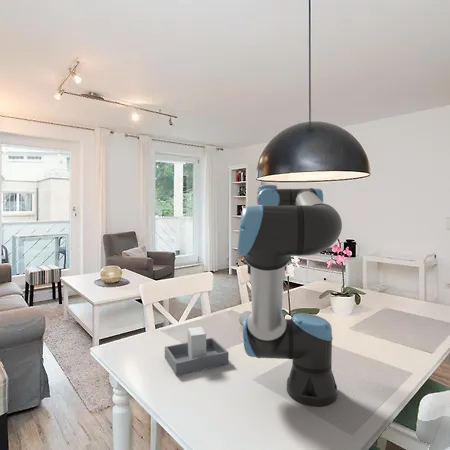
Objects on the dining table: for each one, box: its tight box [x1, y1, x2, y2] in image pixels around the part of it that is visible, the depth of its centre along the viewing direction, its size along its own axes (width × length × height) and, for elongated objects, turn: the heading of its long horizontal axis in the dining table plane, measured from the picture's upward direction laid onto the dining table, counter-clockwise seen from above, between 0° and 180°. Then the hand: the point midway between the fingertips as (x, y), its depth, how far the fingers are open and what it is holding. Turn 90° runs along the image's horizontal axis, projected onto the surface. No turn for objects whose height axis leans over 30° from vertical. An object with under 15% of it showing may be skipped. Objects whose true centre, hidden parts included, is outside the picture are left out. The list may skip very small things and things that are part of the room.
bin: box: [164, 337, 230, 376], centre depth 121 cm, size 15×20×4 cm
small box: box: [187, 326, 207, 359], centre depth 121 cm, size 8×6×10 cm
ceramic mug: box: [238, 310, 252, 327], centre depth 152 cm, size 11×8×8 cm
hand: (267, 281), depth 125 cm, fingers open, 13 cm apart
